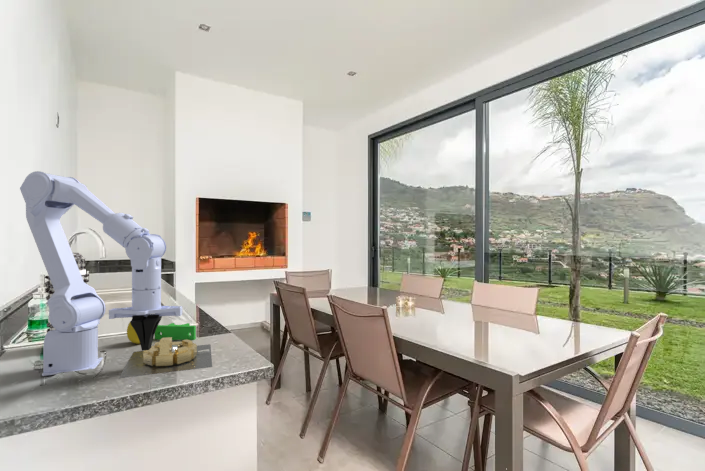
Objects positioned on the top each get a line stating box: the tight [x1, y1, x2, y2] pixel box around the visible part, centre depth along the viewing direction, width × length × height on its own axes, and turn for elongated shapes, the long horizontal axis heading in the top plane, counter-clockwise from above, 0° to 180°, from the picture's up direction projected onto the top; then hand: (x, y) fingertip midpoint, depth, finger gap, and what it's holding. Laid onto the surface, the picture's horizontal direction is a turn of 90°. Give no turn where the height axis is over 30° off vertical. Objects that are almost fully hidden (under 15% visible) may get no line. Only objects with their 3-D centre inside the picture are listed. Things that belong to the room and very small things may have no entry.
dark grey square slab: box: [118, 343, 213, 379], centre depth 88 cm, size 18×18×3 cm
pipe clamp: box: [154, 322, 197, 341], centre depth 106 cm, size 11×4×5 cm, turn 89°
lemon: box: [126, 322, 141, 345], centre depth 101 cm, size 6×6×8 cm
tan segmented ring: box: [143, 337, 198, 366], centre depth 88 cm, size 11×11×6 cm
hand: (146, 349), depth 83 cm, fingers closed
